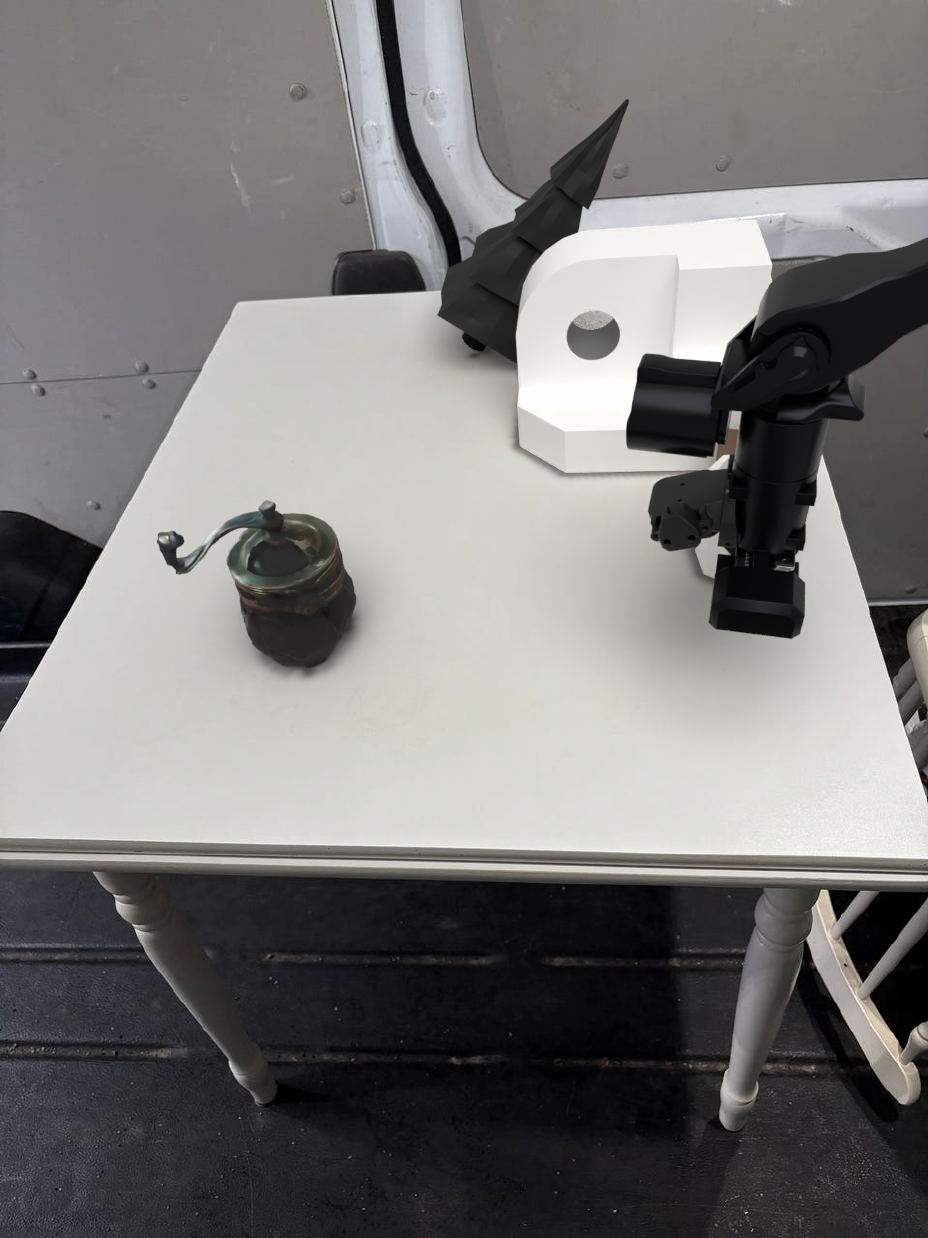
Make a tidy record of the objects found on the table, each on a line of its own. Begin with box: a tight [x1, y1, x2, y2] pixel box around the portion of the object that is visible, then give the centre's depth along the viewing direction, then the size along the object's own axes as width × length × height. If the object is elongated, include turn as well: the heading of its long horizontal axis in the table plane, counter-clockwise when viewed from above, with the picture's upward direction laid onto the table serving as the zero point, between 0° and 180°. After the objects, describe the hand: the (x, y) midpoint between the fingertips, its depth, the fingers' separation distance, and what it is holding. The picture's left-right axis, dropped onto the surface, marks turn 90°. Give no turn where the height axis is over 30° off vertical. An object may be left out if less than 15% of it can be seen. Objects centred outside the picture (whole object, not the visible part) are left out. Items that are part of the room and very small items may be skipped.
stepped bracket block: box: [516, 219, 773, 474], centre depth 93 cm, size 26×17×20 cm, turn 84°
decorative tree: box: [436, 98, 630, 365], centre depth 106 cm, size 15×15×35 cm
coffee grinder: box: [156, 499, 358, 668], centre depth 74 cm, size 13×15×18 cm
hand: (746, 613), depth 70 cm, fingers closed
